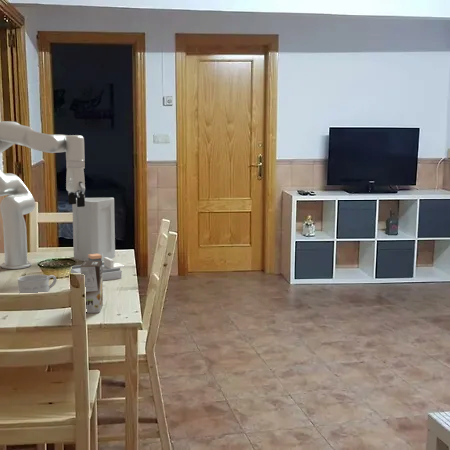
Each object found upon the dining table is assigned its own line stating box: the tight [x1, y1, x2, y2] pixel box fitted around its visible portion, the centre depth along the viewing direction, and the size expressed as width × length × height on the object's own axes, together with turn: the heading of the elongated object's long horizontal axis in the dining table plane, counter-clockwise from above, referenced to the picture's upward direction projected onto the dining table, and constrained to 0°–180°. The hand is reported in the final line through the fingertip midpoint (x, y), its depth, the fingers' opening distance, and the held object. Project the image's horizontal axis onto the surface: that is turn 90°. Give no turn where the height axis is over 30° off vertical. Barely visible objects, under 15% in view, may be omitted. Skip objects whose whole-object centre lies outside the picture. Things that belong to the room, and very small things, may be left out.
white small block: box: [103, 257, 126, 269], centre depth 265 cm, size 7×6×4 cm
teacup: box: [17, 274, 58, 294], centre depth 229 cm, size 14×11×8 cm
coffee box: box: [80, 261, 104, 314], centre depth 215 cm, size 9×6×16 cm
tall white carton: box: [71, 197, 116, 262], centre depth 292 cm, size 19×15×28 cm
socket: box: [71, 261, 122, 281], centre depth 261 cm, size 16×16×4 cm
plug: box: [88, 254, 102, 261], centre depth 261 cm, size 4×4×9 cm
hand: (76, 205), depth 267 cm, fingers open, 9 cm apart
